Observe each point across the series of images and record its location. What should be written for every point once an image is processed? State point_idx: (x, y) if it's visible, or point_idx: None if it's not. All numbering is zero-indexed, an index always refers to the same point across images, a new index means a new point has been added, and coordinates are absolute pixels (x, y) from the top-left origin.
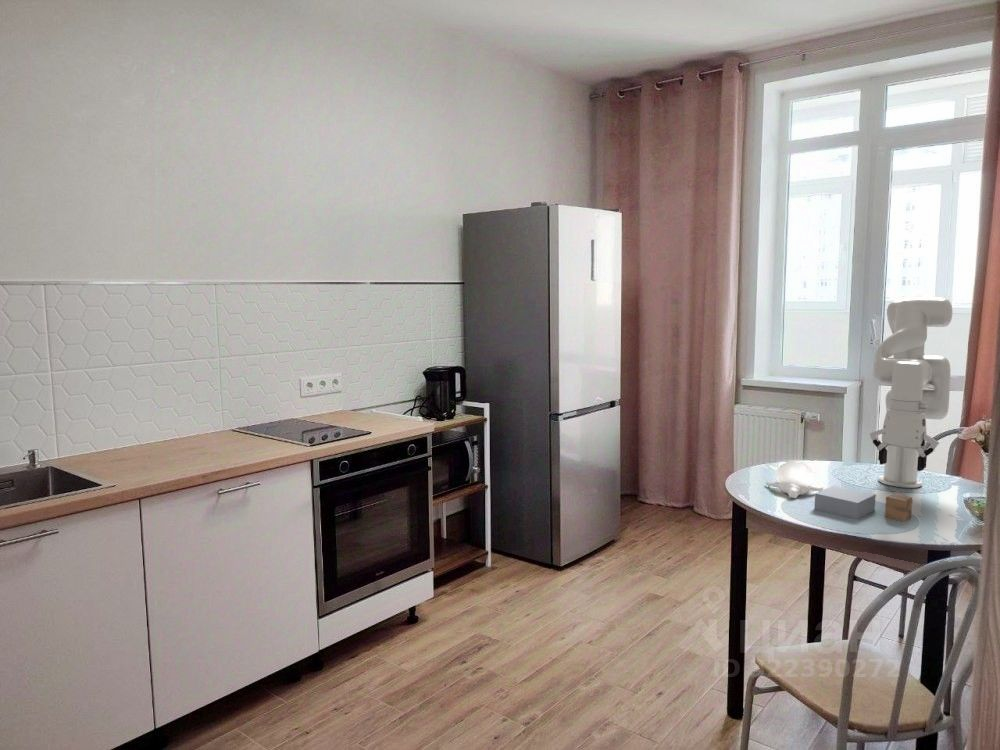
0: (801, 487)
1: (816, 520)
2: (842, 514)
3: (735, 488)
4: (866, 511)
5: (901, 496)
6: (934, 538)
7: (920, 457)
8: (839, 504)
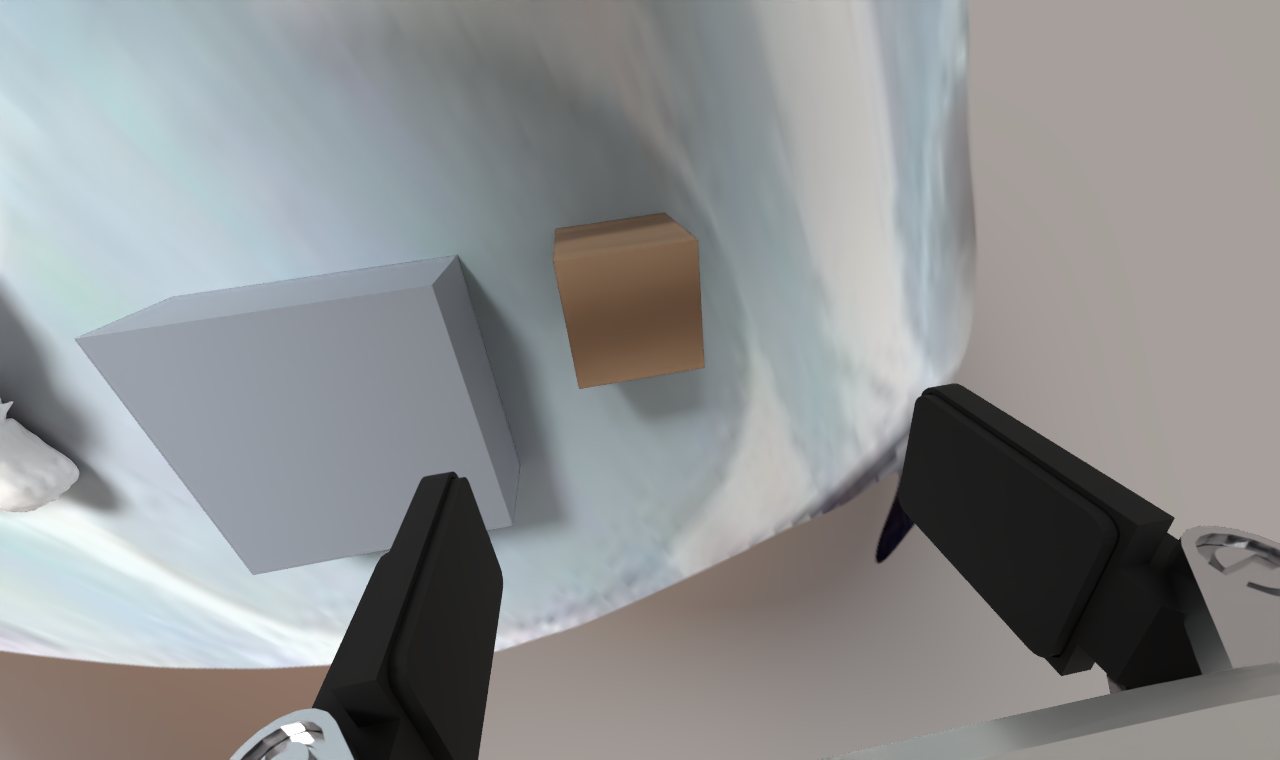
0: None
1: None
2: None
3: None
4: (489, 375)
5: (637, 292)
6: (847, 413)
7: (1080, 661)
8: None
